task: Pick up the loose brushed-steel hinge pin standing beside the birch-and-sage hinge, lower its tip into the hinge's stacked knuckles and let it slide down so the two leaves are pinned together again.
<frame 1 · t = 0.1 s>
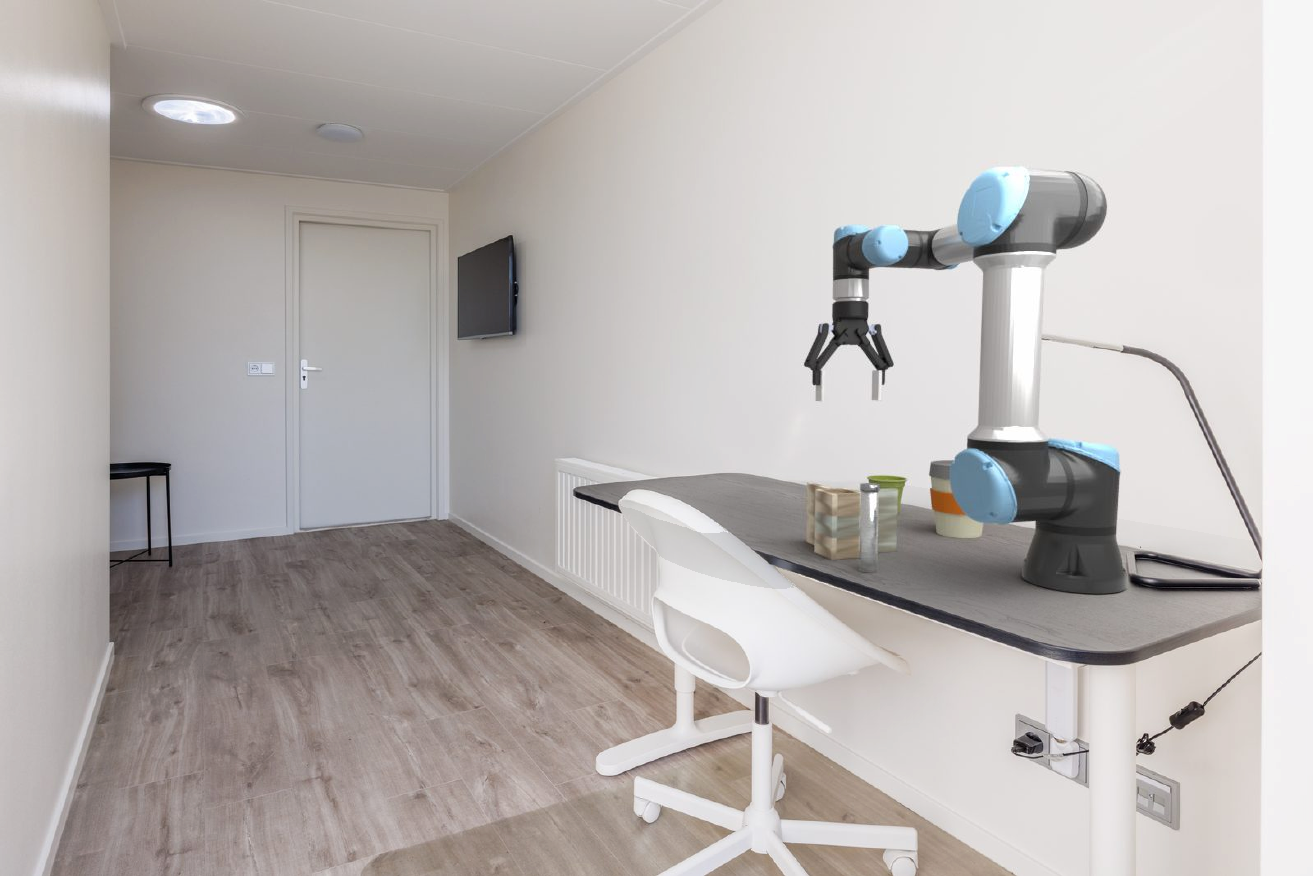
hand: (848, 400, 169), 28 cm above the table, tool pointing down, fingers open, 13 cm apart
hinge pin: (868, 570, 136), on the table
reusable coffee cup: (958, 534, 166), on the table
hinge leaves: (838, 554, 147), on the table
plant pot: (886, 513, 191), on the table
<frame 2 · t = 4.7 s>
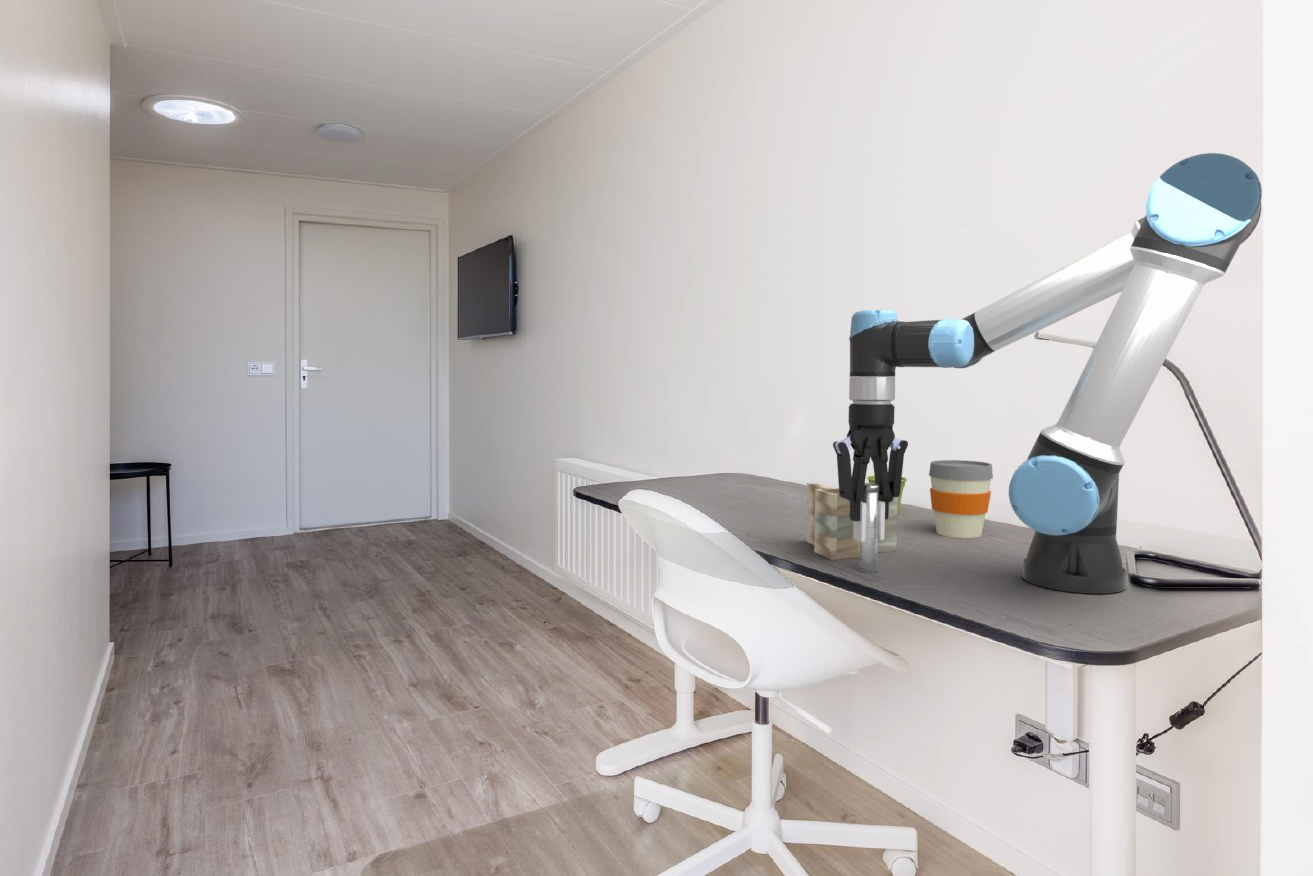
hand: (868, 538, 135), 6 cm above the table, tool pointing down, fingers closed on hinge pin, 3 cm apart
hinge pin: (868, 570, 136), on the table, touching gripper
everything else where it was.
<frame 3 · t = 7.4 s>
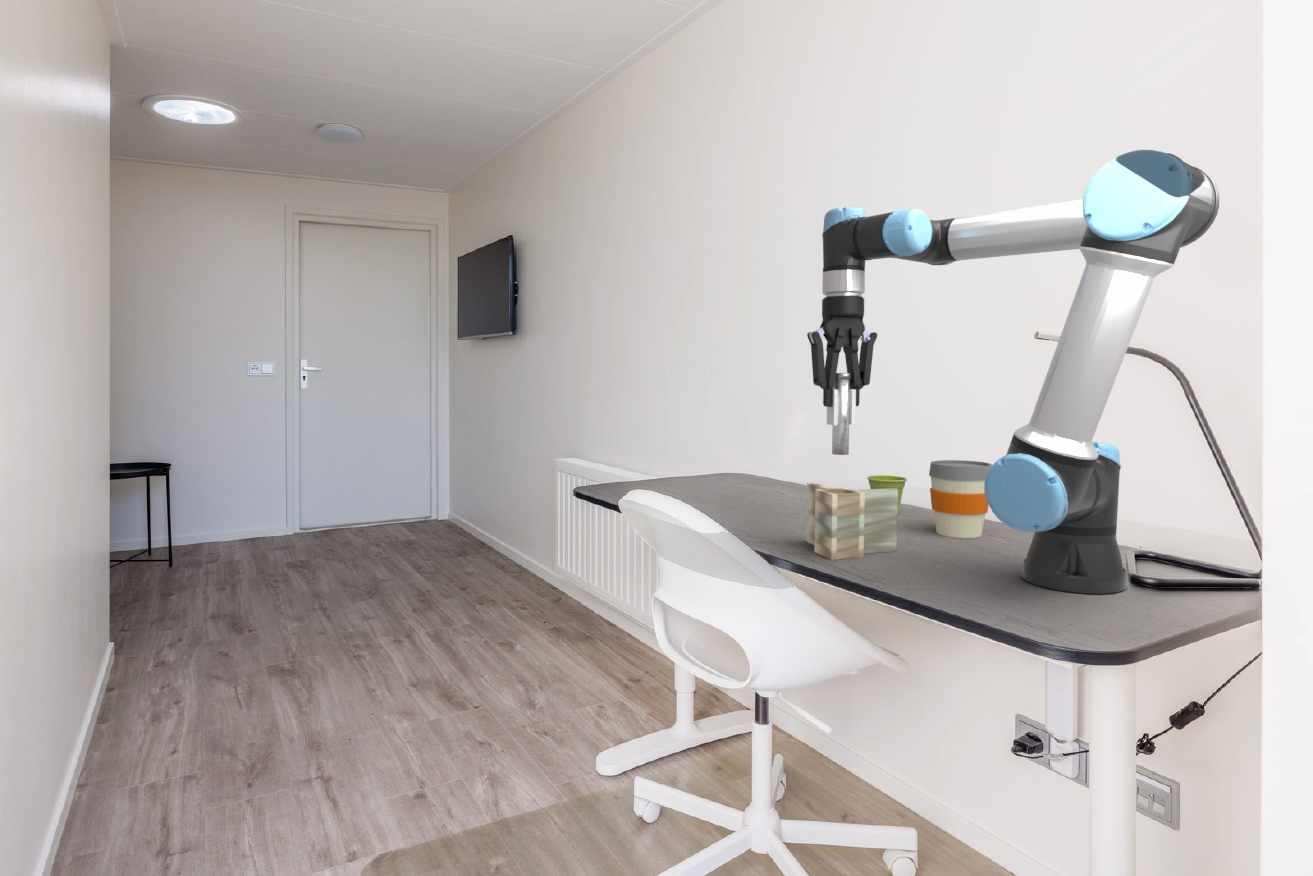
hand: (840, 424, 145), 25 cm above the table, tool pointing down, fingers closed on hinge pin, 3 cm apart
hinge pin: (840, 454, 146), point 19 cm above the table, touching gripper
everything else where it was.
when the fingers open (15 cm above the table, at t = 10.4 s): hinge pin drops 9 cm, resting in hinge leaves.
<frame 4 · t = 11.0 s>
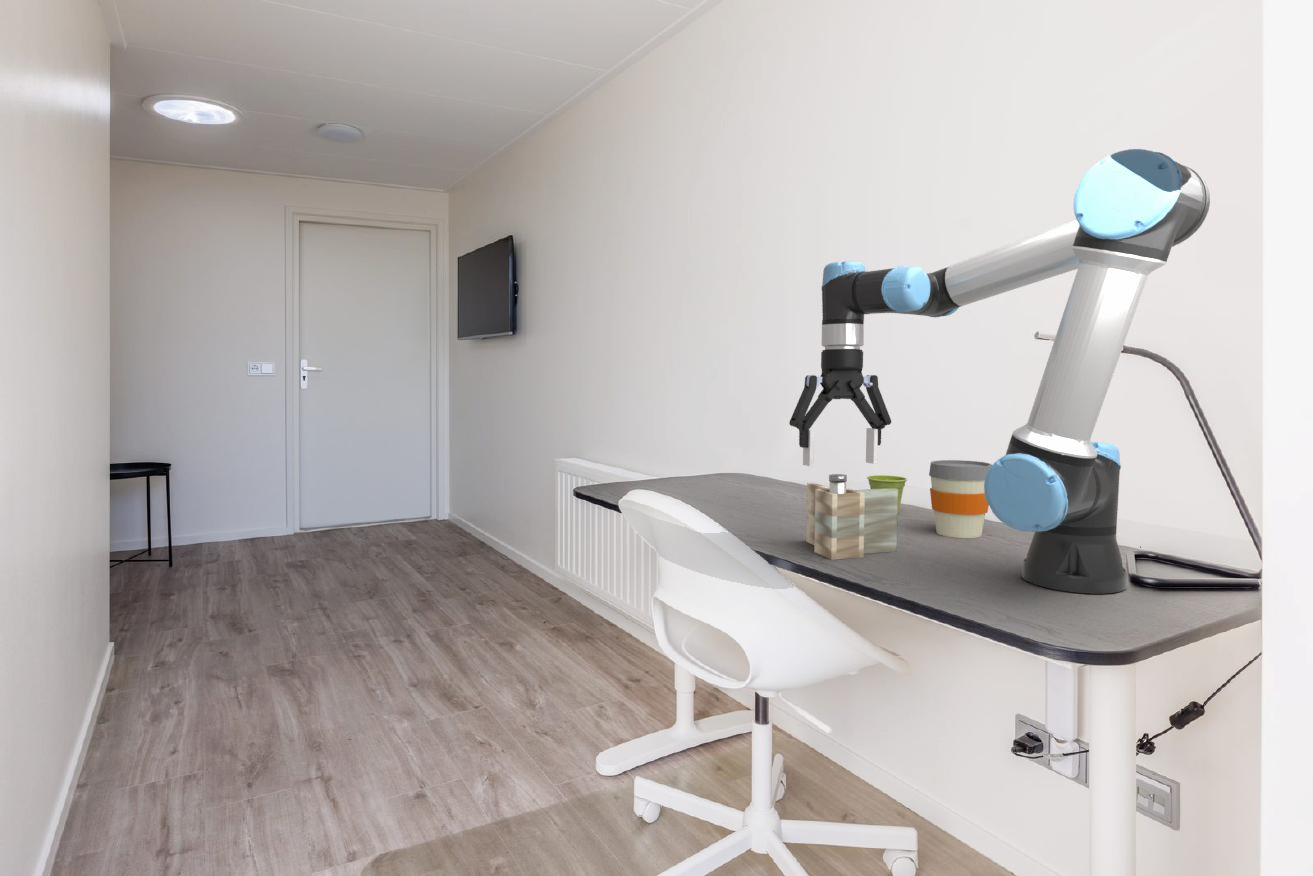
hand: (840, 464, 146), 17 cm above the table, tool pointing down, fingers open, 12 cm apart
hinge pin: (838, 554, 147), resting in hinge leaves
everything else where it was.
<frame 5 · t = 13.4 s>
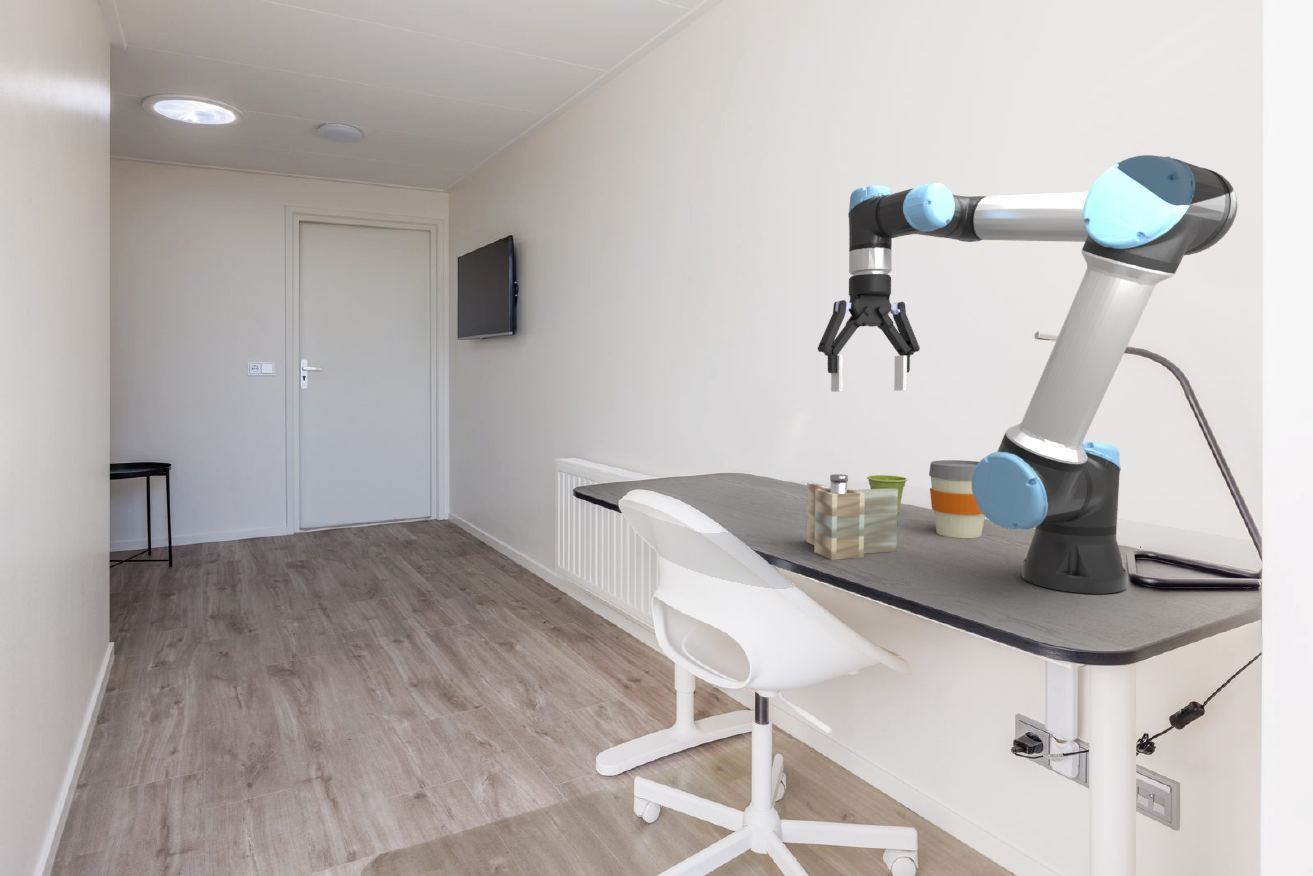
hand: (869, 391, 145), 31 cm above the table, tool pointing down, fingers open, 13 cm apart
nothing on the table moved.
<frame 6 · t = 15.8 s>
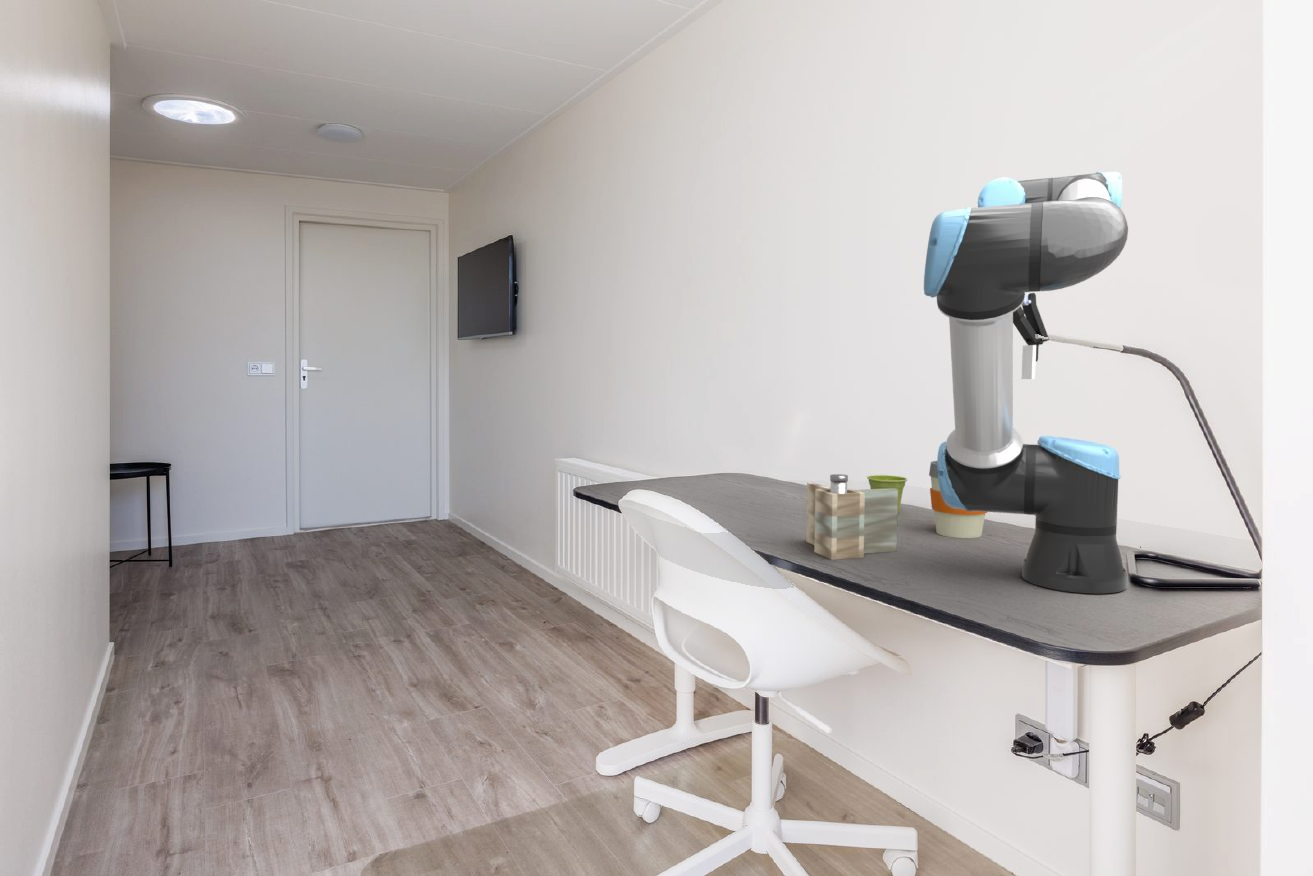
hand: (998, 379, 151), 33 cm above the table, tool pointing down, fingers open, 13 cm apart
nothing on the table moved.
at the end: hinge pin 0.1 cm from the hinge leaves (horizontally); hinge pin resting in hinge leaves; hinge pin tilted 0° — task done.
